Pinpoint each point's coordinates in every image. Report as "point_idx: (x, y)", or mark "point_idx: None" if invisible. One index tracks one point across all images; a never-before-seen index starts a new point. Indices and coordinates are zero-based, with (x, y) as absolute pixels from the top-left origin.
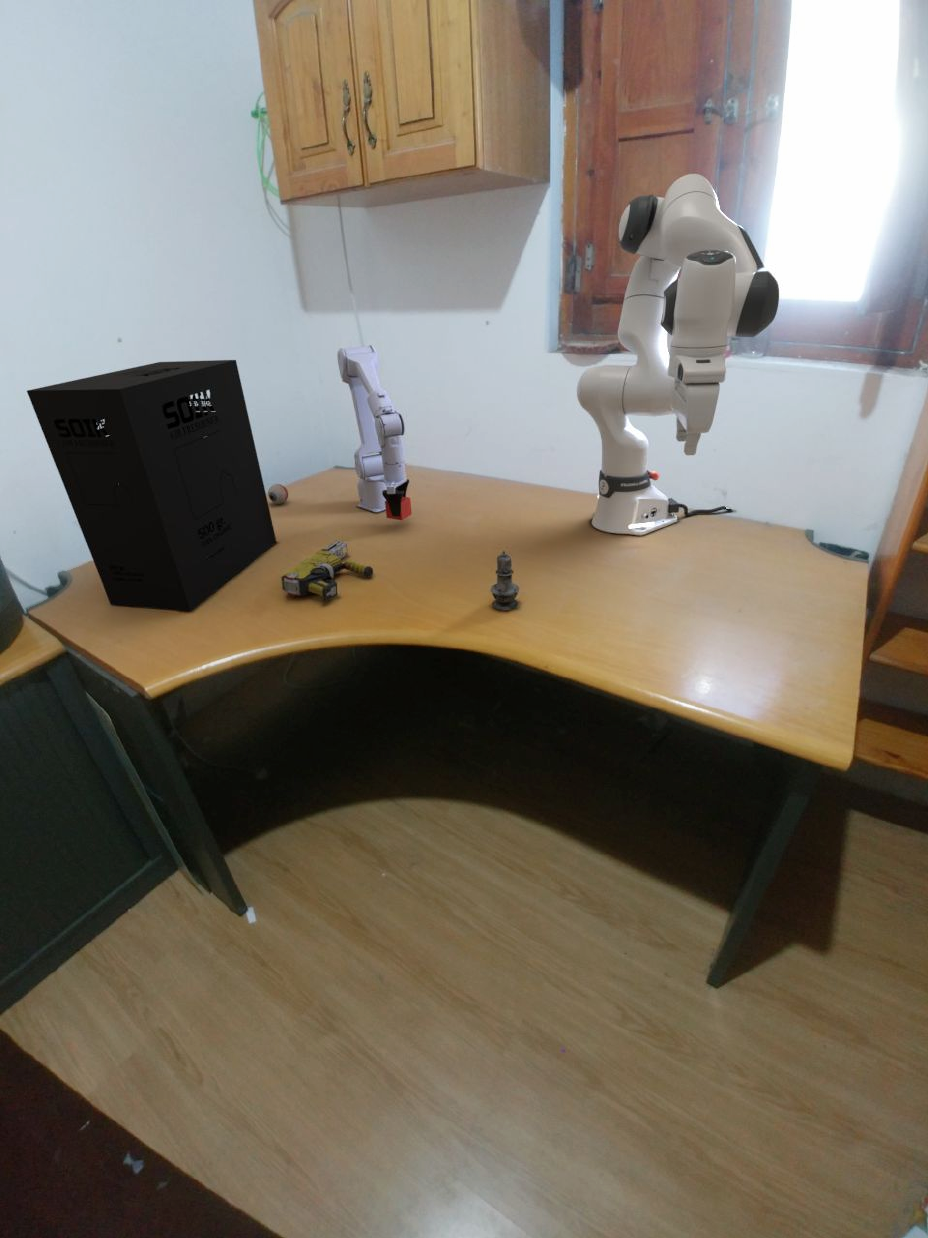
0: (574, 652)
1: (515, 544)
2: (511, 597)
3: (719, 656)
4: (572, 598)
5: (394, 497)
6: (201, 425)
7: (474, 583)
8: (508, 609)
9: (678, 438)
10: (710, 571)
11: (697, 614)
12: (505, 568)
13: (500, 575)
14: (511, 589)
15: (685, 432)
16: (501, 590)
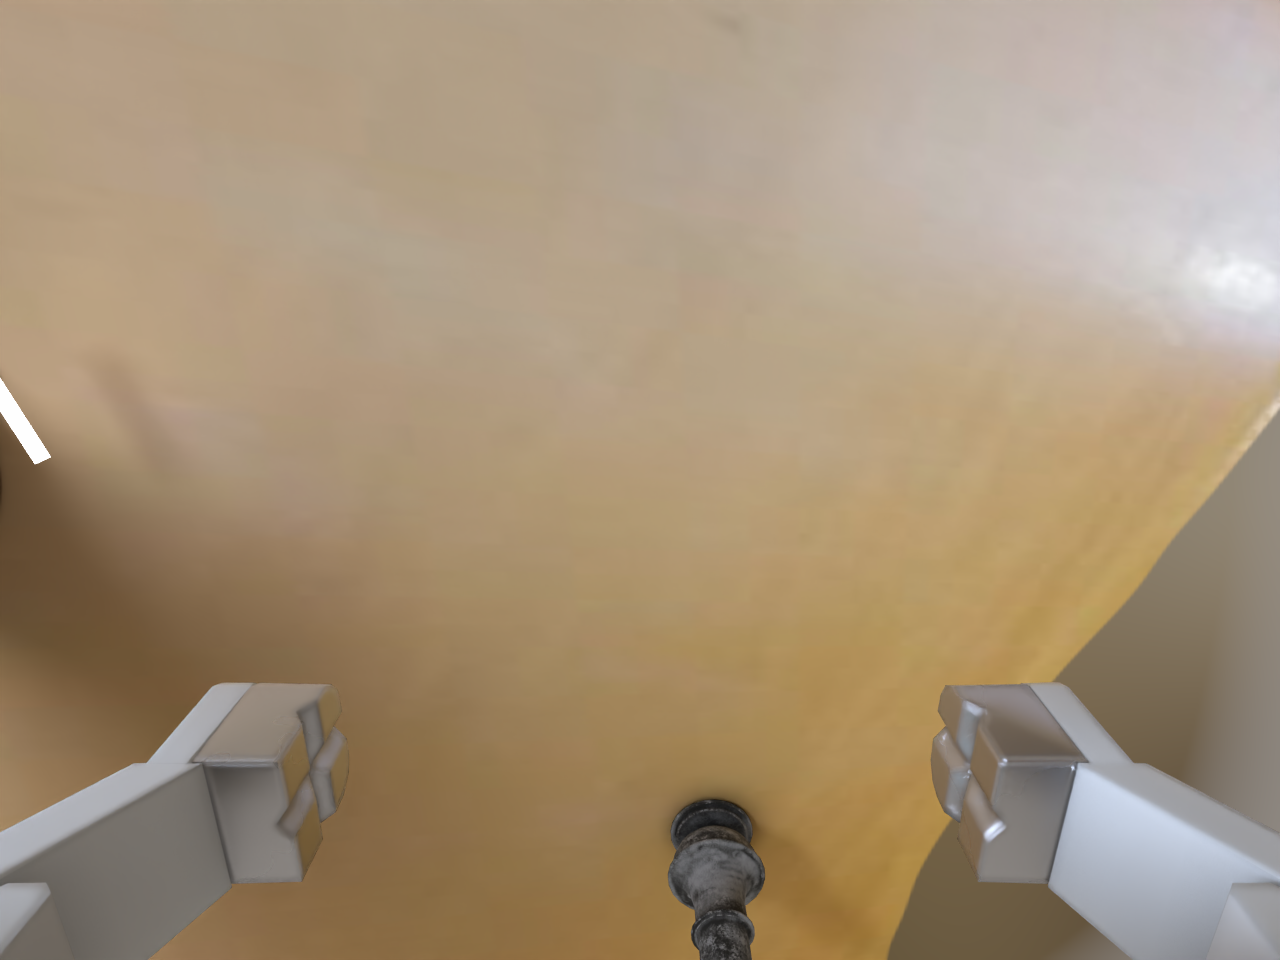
0: (1003, 641)
1: None
2: (750, 846)
3: (1073, 190)
4: (654, 647)
5: None
6: None
7: (568, 917)
8: (749, 822)
9: (339, 792)
10: (339, 79)
11: (763, 218)
12: (750, 952)
13: (751, 941)
14: (739, 866)
15: (291, 784)
16: (748, 891)
